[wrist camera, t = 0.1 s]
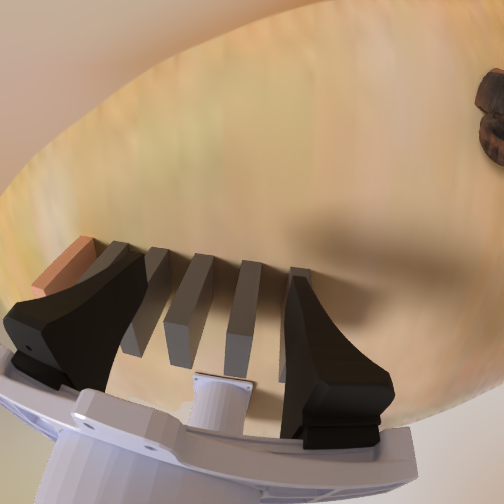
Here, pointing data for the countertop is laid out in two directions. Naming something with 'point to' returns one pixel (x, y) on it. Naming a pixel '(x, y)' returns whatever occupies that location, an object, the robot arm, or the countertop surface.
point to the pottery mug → (492, 114)
